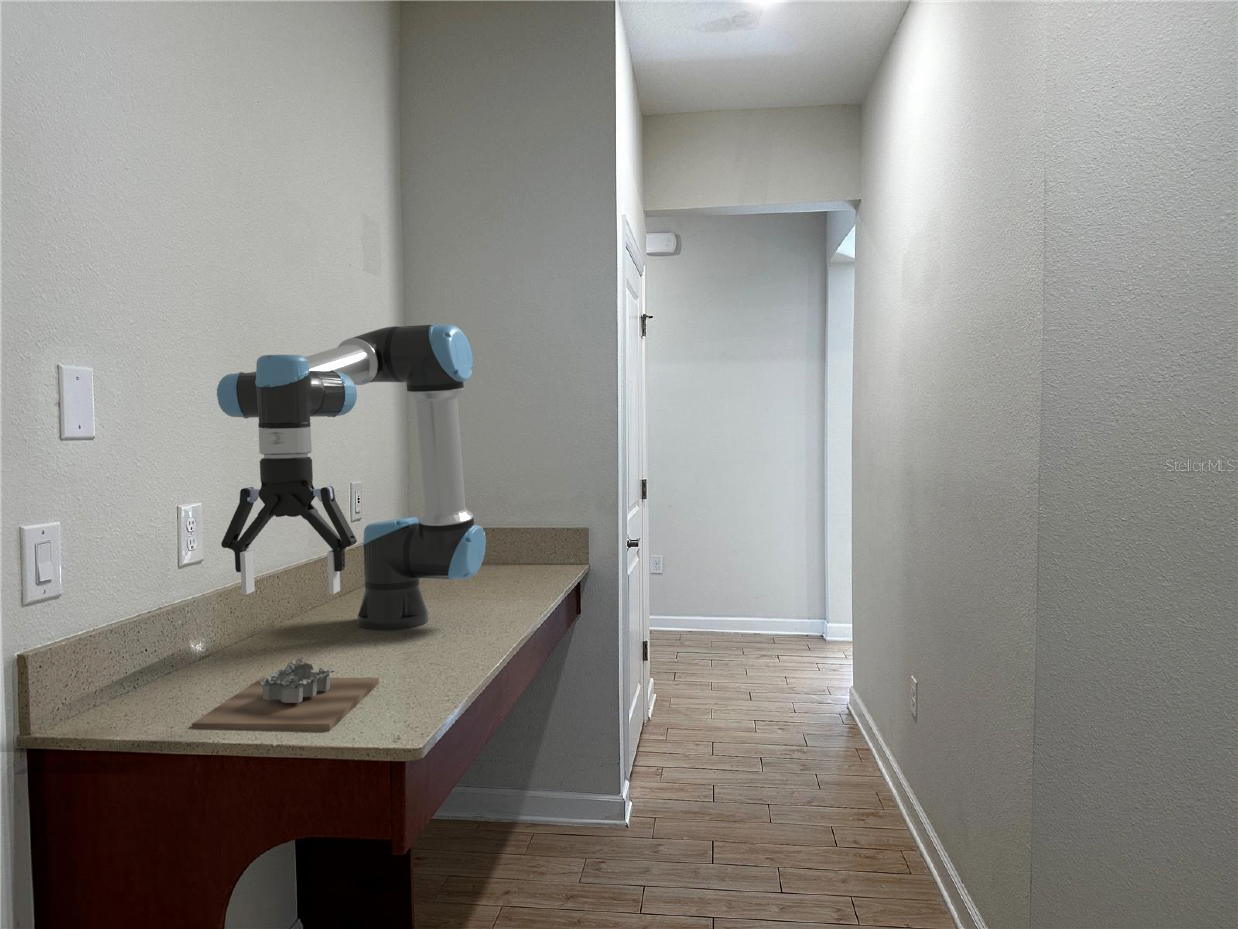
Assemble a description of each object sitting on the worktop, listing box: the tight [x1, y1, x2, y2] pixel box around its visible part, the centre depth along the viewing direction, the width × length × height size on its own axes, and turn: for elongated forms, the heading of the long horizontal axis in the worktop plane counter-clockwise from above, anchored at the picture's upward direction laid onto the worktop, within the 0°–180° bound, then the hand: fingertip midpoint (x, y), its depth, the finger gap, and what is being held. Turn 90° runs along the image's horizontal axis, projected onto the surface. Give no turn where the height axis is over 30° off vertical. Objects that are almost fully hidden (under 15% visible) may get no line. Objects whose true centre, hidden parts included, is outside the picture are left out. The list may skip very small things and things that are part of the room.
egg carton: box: [257, 657, 335, 703], centre depth 133 cm, size 11×8×4 cm
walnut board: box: [191, 677, 380, 732], centre depth 133 cm, size 22×20×1 cm
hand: (291, 592), depth 132 cm, fingers open, 13 cm apart
